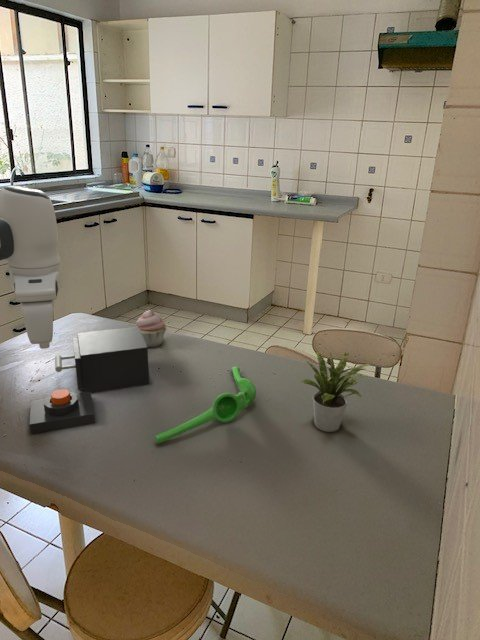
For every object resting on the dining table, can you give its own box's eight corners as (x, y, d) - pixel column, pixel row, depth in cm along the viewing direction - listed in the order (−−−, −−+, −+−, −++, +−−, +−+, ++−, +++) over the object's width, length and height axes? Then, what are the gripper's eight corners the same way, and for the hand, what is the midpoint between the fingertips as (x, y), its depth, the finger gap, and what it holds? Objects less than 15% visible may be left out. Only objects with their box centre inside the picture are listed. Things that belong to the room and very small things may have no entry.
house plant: (364, 456, 87) (377, 380, 81) (291, 443, 90) (298, 369, 84) (363, 414, 100) (374, 346, 94) (299, 404, 103) (306, 338, 97)
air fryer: (84, 393, 104) (80, 355, 100) (81, 368, 115) (77, 332, 111) (149, 383, 109) (147, 347, 105) (140, 360, 120) (138, 326, 116)
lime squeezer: (232, 371, 116) (233, 348, 114) (276, 382, 112) (277, 359, 109) (152, 444, 88) (151, 416, 86) (206, 464, 84) (207, 435, 81)
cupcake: (162, 351, 125) (161, 317, 121) (129, 348, 126) (127, 314, 122) (172, 337, 134) (171, 305, 130) (141, 334, 135) (139, 302, 131)
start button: (51, 407, 92) (50, 399, 92) (51, 398, 95) (50, 390, 95) (70, 404, 94) (69, 396, 93) (70, 395, 97) (69, 387, 96)
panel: (30, 434, 90) (28, 416, 88) (32, 409, 98) (29, 393, 96) (95, 422, 94) (93, 406, 93) (91, 400, 102) (89, 384, 100)
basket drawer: (57, 392, 102) (53, 361, 99) (56, 369, 112) (53, 340, 109) (138, 380, 108) (137, 350, 106) (131, 359, 118) (129, 331, 115)
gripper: (21, 263, 93) (29, 326, 98) (14, 296, 76) (24, 371, 81) (54, 262, 95) (61, 324, 101) (55, 293, 78) (63, 366, 83)
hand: (45, 345), depth 90 cm, fingers closed
